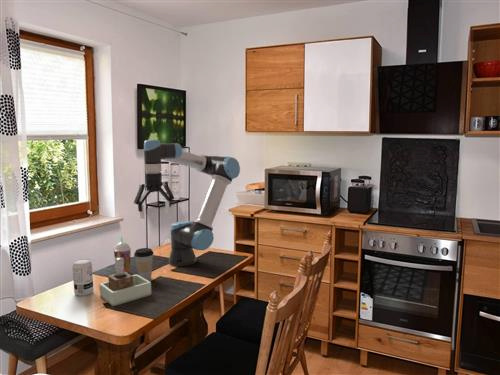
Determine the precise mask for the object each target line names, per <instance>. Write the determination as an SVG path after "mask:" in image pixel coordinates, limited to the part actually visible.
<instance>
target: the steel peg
mask: <svg viewBox="0 0 500 375" xmlns="http://www.w3.org/2000/svg"><path fill="white" fill-rule="evenodd" d="M114 264H115V274H116V278H117V279H119V278H123V277H125V274H124V258H122V257H119V258H116V259H115V258H114Z"/></svg>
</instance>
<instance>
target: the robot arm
mask: <svg viewBox="0 0 500 375" xmlns="http://www.w3.org/2000/svg"><path fill="white" fill-rule="evenodd" d="M143 154H144V155H143V156H144V167H145V168H144V169H145V170H144V172H145V183H140V184H139V188H138V191H137V193H136V196H135V198H134V201H133V204H135V205H137V207H138V208H137V209H138V210H137V211H138V212H139V216H140V218H139V219H142V220H143V219H145V205H144V202H145V201H146V199H147V198H148V196H149V195H150V194H151V193H155V192H157V193H158V192H159V193H160V195H162V196H163V198H164V199H165V202H164V205H165V214H166V215H171V213H170V212H171V211H170V209H171V207H172V200H174V199H175V196H174V195H173V193H172V191H171V188H170V187H169V183H168V181H167V180H164V181H162V180H163V179H162V160H163V161H165V162H170V163H174V164H175V165H176V164H177V165H181V166H185V167H189V168H192V169H195V171H197V172H200V173H203V174H206V175H208V176H210V177H211V178H212V181H211V183H210V186H209V188H208V190H207V193H206V195H205V198H204V200H203V203H202V205H201V208H200V211H199V212H198V215H197V217H196V218H195V219H194V220H192V221H191V220H185V221H184V220H183V221H177V222H173V223H171V225H170V242H171V243H170V244H171V247H170V248H171V250H170V253H169V256H168V265H170V266H173V267H188V266H192V265H194V264H196V263H197V258H196V257H197V256H196V255H195V251H194V250H196V251H206V250H207V249H209V248H210V247H211V246H212V244H213V241H214V233H213V229H214V228H213V225H212V224H213V222H214V219H215V217H216V214H217V212H218V209H219V207H220V204H221V202H222V199H223V197H224V195H225V192H226V189H227V188H228V186H229V185H230V184H232V182H233V180H234V179H236V178H238V177H239V175H240V172H241V166H240V162H239V161H238V159H236V158H235V157H231V156H218V155H217V156H216V155H204V154H199V155H198V154H195V153H191V152H187V151H185V150H183V148H182V146H181V144H180V143H177V142H175V143H174V142H170V143H168V142H167V143H165V142H161V140H159V139H146V140H144V143H143ZM162 187H163V188H164V189H163V188H162ZM145 188H146V189H145ZM164 190H165V191H164ZM143 192H144V193H143Z"/></svg>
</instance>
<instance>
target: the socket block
mask: <svg viewBox="0 0 500 375" xmlns="http://www.w3.org/2000/svg"><path fill="white" fill-rule="evenodd" d="M124 274H125V277H123V278H119V279H117V278H116V273H114V274H110V275H108V276H107V278H108V281H109V289H111V290H112V291H113V292H114V291H118V290H121V289H125V288H129V287H132V286H133V276H132V275H131V274H130V273H129V274H128V273H127V272H124ZM108 281H107V282H108Z"/></svg>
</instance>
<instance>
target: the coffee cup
mask: <svg viewBox="0 0 500 375" xmlns="http://www.w3.org/2000/svg"><path fill="white" fill-rule="evenodd" d="M133 253H134V254H133V256H134V257H135V265H136V272H137V275H139V276H141V277H143V278H144V279H146V280H148V281H150V280H152V273H153V272H152V271H153V260H154V259H153V258H154V257H153V255H155V253H154V251H153V249H152V248H149V247H142V248H138V249H136V250H135V252H133Z"/></svg>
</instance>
